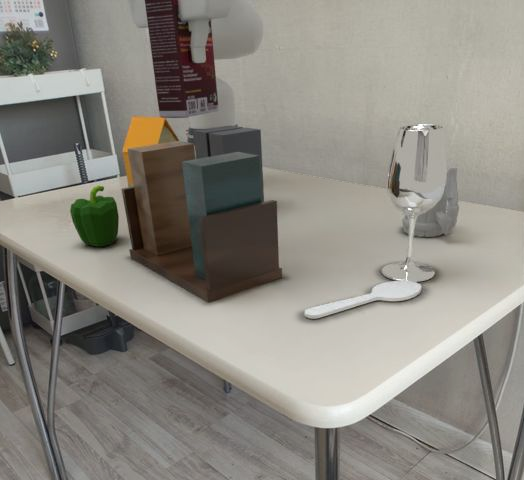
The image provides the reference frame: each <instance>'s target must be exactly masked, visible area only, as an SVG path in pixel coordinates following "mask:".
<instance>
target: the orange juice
mask: <svg viewBox="0 0 524 480" xmlns="http://www.w3.org/2000/svg"><path fill="white" fill-rule="evenodd" d="M130 120H131V121H130V123H129V127H128V130H127V133H126V137H125V140H124V144H123V147H122V156H123V163H124V168H125V173H126V179H127V180H126V181H127V187H132V186H134V185H133V179H132V173H131V167H130V161H129V155H128V148H135V147H142V146H148V145H155V144H161V143H168V142H174V141H180V139H179V138H178V136H177V135H176V133H175V131H174V130H173V128H172V126H171V125H170V124H169V122H168V120H167V118H161V117H160V116H131V119H130Z"/></svg>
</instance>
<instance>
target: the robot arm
mask: <svg viewBox="0 0 524 480" xmlns="http://www.w3.org/2000/svg"><path fill="white" fill-rule="evenodd" d="M128 6H129V10H130V15H131V18H132V21H133V23H134V25H135V27H136V28H137V29H145V37H146V41H147V44H148V46H149V49H150V50H151V45H150V37H149V29H148V22H147V14H146V7H145V0H128ZM178 10H179V17H180V20H181V21H188V25H189V31H192V33H191V45H190V47H191V48H188V55H189V62H190V63H204V62H205V61H206V53H205V46H206V42H207V38H208V33H209V23H208V20H211V29H212V40H213V51H214V61H219V60H234V59H239V58H243V57H247V56H251V55H253V54H255V53H256V52H257V51H258V50H259V47H260V46H261V43H262V41H263V37H264V23H263V19H262V16H261V14H260V12H259V11H258V9H257V8H256V7H255V6H254V4H253V3H252V2H251V1H249V0H178ZM216 85H217V97H218V109H219V110H218V111H216V112H210V113H205V114H200V115H195V116H190V117H188V121H189V128H188V129H186V130H185V132H187V133H186V134H185V135H186V136H187V143H192V144H194V135H193V131H195V130H202V129H209V128H216V127H222V126H229V125H230V126H238V127H239V125H238V124H237V118H236V104H235V103H236V101H235V93H234V90H233V88H232V87H231V85H230V84H229V83H228V82H226V81H225V80H223V79H221V78H220V77H217V76H216ZM194 149H195V144H194ZM195 158H196V154H195Z"/></svg>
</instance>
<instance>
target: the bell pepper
mask: <svg viewBox="0 0 524 480" xmlns="http://www.w3.org/2000/svg"><path fill="white" fill-rule="evenodd" d="M104 190H105V186H104V185H97V186H94V187H92V189H91V191H90V194H89V196H90V197H89V199H87V198H77V199H76V200H75V201H74V202H73V203H71V205H70V209H69V212H70V216H71V220H72V223H73V225H74V228H75V230H76V233H77V234H78V237H79V238H80V240H81V242H82V243H83V244H84V245H85V246H94V247H106V246H110V245H112V244H113V243H114V242H115V241H116V239H117V238H118V235H119V223H120V222H119V221H120V218H119V217H120V216H119V210H118V204H117V201H116V200H115V198H114V197H113V196H103V195H97V193H98V192H104Z"/></svg>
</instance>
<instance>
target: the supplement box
mask: <svg viewBox="0 0 524 480" xmlns="http://www.w3.org/2000/svg"><path fill="white" fill-rule="evenodd" d="M145 7H146V14H147V22H148V29H149V37H150V45H151V49H150V53H151V61H152V67H153V68H152V69H153V75H154V84H155V92H156V99H157V107H158V115H159V117H161V118H165V119H187V118H189V117H190V116H195V115H200V114H205V113H210V112H216V111H218V110H219V109H218V97H217V85H216V77H217V75H216V65H215V64H216V63H215V60H214V51H213V40H212V29H211V20H208V23H209V33H208V38H207V42H206V46H205V53H206V61H205V62H204V63H190V62H189V55H188V48H191V47H190V45H191V33H192V31H189V25H188V21H181V20H180V17H179V10H178V0H145Z"/></svg>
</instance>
